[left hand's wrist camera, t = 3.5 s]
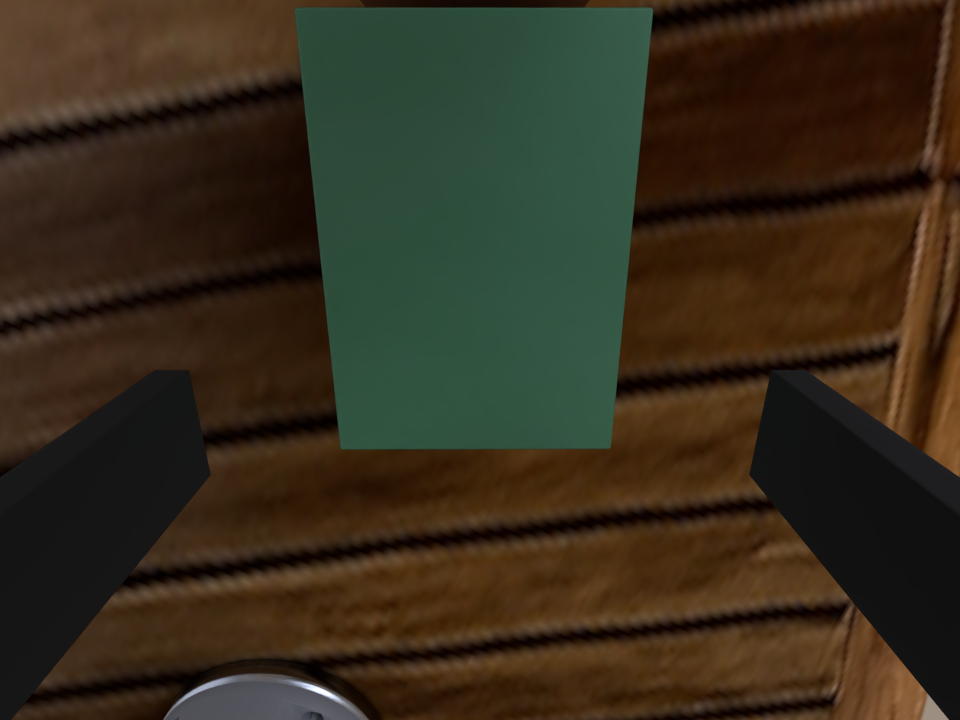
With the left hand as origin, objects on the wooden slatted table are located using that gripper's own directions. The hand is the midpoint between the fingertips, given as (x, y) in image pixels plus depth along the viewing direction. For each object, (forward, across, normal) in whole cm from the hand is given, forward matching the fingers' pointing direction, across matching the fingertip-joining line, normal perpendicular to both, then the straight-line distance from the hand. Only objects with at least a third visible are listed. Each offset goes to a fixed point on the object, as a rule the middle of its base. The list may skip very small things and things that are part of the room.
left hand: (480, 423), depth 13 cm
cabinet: (+15, 0, -3) cm, 16 cm away
